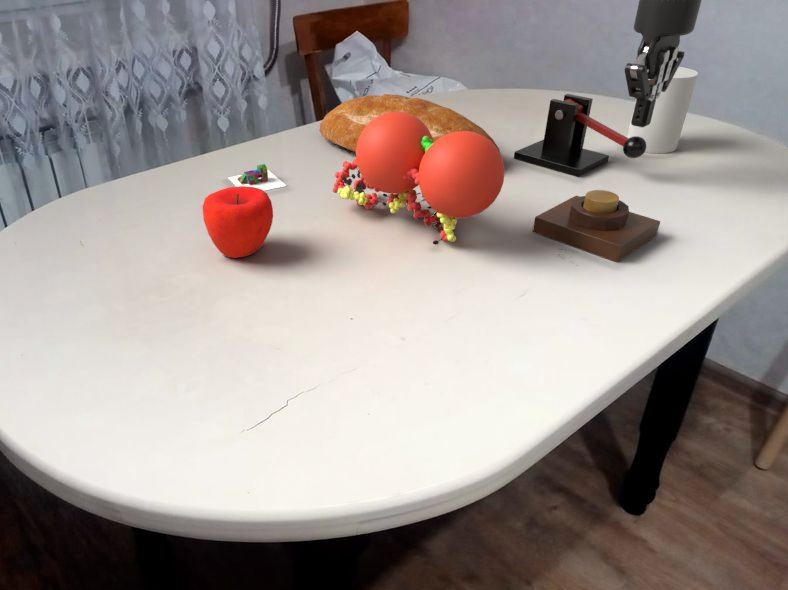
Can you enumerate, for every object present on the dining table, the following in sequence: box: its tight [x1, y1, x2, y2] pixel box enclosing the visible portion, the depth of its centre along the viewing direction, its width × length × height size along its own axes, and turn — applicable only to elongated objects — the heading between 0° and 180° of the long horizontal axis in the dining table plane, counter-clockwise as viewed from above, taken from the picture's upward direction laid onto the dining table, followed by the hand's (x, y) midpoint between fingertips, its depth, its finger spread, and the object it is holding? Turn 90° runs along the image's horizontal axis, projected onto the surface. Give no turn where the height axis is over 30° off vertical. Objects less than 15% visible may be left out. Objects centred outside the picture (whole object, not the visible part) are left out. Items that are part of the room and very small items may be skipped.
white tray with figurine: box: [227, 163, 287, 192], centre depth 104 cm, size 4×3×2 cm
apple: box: [202, 186, 274, 259], centre depth 83 cm, size 9×9×8 cm
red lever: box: [565, 99, 647, 159], centre depth 101 cm, size 15×3×3 cm, turn 42°
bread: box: [318, 93, 501, 154], centre depth 112 cm, size 18×35×9 cm, turn 51°
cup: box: [626, 66, 699, 154], centre depth 110 cm, size 8×8×12 cm
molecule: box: [332, 112, 506, 246], centre depth 86 cm, size 25×11×15 cm, turn 48°
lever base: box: [513, 93, 610, 178], centre depth 106 cm, size 12×9×10 cm
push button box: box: [532, 195, 661, 263], centre depth 85 cm, size 12×10×4 cm
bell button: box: [583, 189, 620, 214], centre depth 84 cm, size 4×4×2 cm
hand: (640, 125), depth 97 cm, fingers closed
